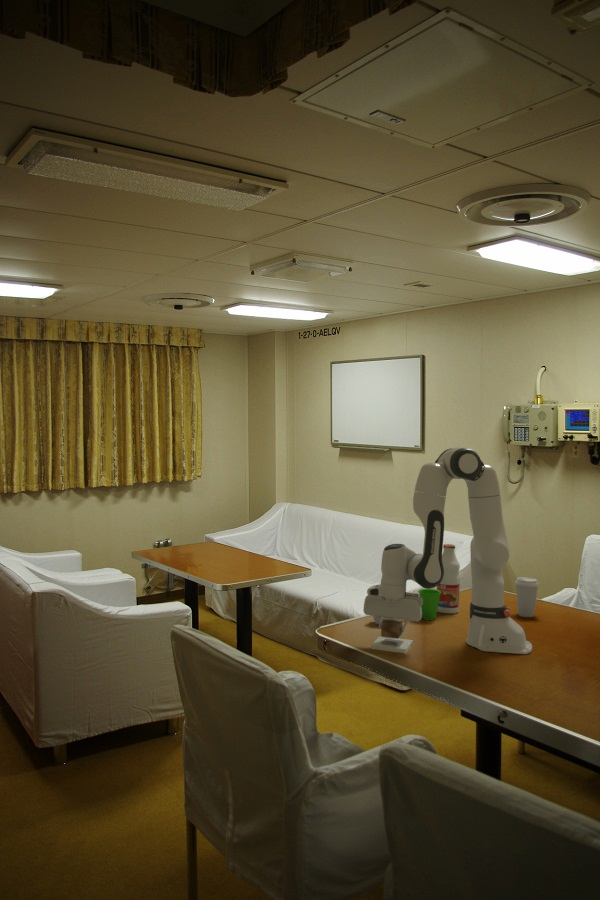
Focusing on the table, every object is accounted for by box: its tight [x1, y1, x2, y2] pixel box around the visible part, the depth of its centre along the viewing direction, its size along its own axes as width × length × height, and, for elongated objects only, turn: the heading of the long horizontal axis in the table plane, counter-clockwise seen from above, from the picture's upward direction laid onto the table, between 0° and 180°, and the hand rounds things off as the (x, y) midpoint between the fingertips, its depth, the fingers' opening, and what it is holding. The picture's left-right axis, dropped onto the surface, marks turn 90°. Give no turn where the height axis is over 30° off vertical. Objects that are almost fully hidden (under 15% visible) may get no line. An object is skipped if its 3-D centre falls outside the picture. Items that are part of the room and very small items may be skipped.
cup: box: [418, 588, 441, 621], centre depth 271 cm, size 9×9×11 cm
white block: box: [372, 616, 394, 625], centre depth 262 cm, size 8×9×10 cm
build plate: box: [370, 635, 414, 654], centre depth 234 cm, size 12×12×1 cm
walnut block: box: [380, 618, 404, 639], centre depth 234 cm, size 6×6×5 cm
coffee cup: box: [514, 576, 540, 618], centre depth 280 cm, size 10×10×15 cm
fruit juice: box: [436, 543, 461, 615], centre depth 283 cm, size 9×9×28 cm
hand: (391, 630), depth 234 cm, fingers closed on walnut block, 6 cm apart
